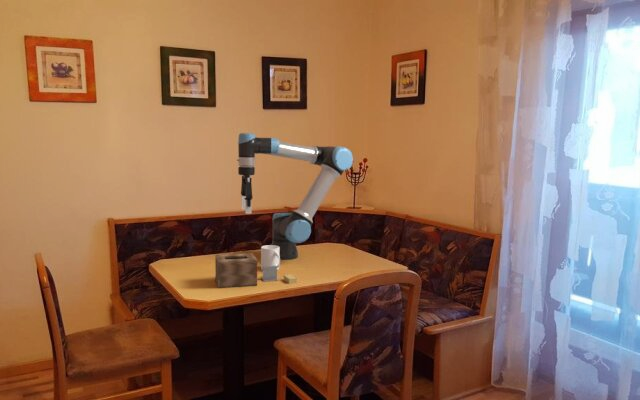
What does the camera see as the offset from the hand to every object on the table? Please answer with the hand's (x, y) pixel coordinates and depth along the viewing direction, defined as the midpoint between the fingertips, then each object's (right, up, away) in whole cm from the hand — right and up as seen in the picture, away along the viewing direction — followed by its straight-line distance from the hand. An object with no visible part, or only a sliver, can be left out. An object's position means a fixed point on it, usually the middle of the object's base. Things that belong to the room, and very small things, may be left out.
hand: (246, 211), depth 243 cm
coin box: (-1, -30, -23) cm, 38 cm away
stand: (+13, -29, -17) cm, 36 cm away
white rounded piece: (+12, -28, -1) cm, 30 cm away
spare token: (+22, -30, -19) cm, 42 cm away
